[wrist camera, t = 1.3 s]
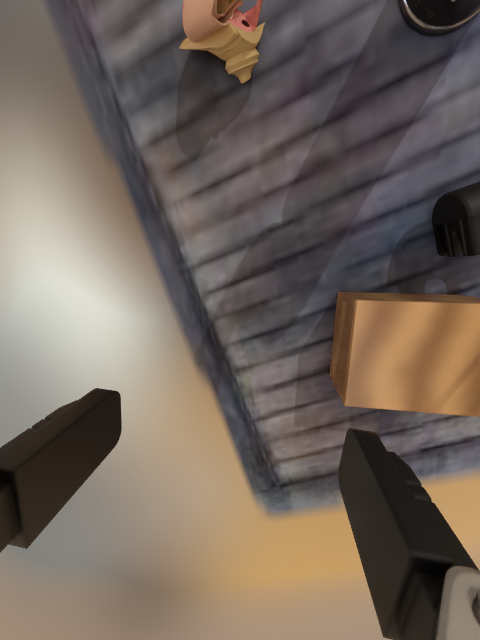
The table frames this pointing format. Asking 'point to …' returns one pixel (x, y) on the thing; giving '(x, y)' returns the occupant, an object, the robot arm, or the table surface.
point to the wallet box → (345, 325)
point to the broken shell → (224, 32)
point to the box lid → (414, 357)
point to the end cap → (458, 222)
